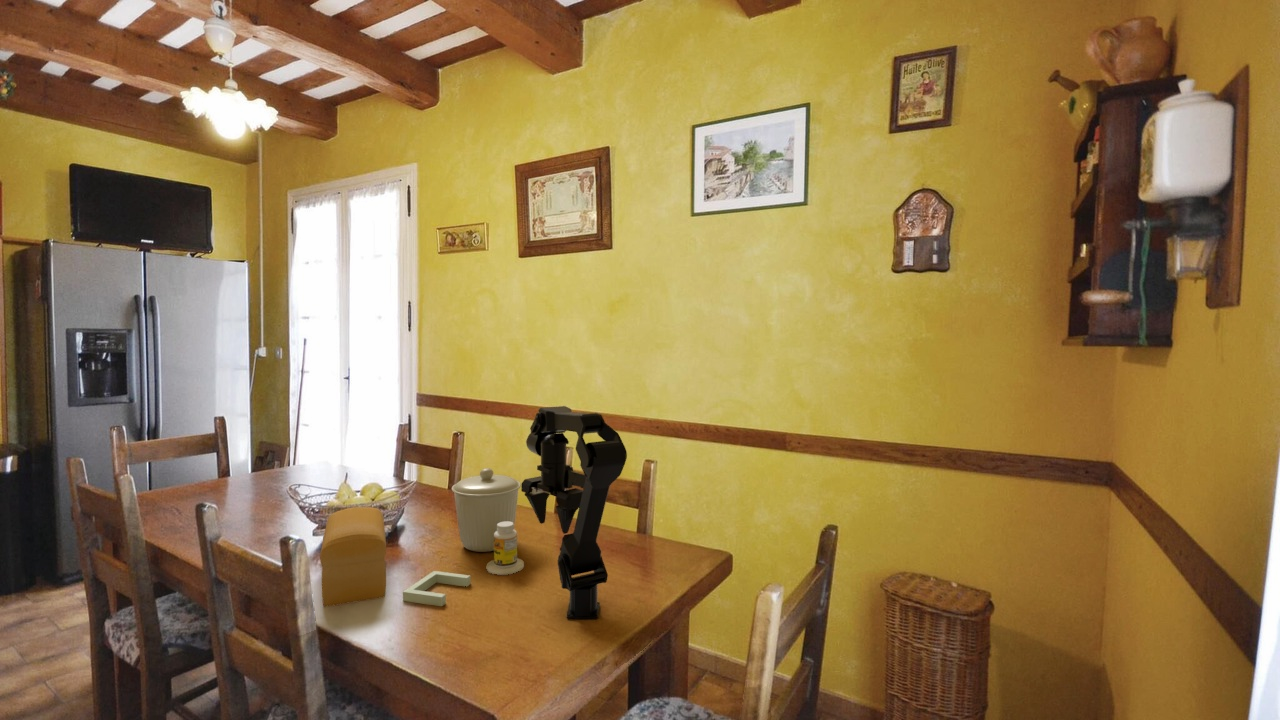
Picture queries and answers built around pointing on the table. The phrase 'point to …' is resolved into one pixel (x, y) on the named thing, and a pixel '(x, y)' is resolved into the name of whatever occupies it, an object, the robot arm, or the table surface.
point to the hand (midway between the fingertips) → (553, 528)
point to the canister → (484, 507)
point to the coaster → (505, 571)
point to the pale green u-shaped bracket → (418, 589)
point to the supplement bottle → (505, 545)
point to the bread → (353, 556)
